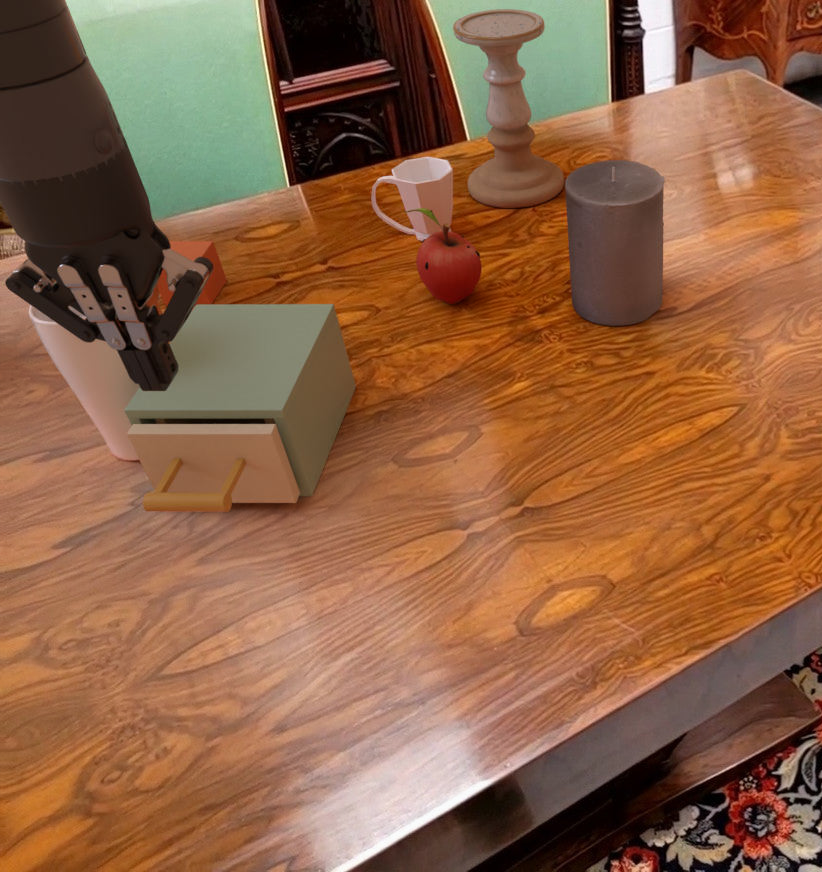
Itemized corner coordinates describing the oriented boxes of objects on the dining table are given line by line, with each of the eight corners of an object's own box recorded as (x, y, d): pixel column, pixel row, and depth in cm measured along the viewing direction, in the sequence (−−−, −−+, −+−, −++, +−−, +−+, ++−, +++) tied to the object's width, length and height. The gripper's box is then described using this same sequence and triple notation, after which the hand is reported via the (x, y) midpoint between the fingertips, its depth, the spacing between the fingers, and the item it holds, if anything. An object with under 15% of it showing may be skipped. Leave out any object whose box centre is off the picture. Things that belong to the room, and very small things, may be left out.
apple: (491, 280, 103) (479, 196, 96) (481, 314, 97) (468, 228, 91) (421, 280, 103) (405, 196, 96) (408, 315, 98) (390, 229, 91)
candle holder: (495, 218, 113) (473, 48, 100) (452, 181, 121) (426, 18, 108) (582, 192, 118) (572, 26, 105) (536, 157, 126) (521, -1, 113)
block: (164, 305, 100) (147, 264, 96) (182, 281, 104) (167, 240, 100) (211, 305, 100) (195, 264, 96) (227, 280, 103) (213, 240, 100)
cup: (457, 248, 108) (446, 183, 103) (371, 247, 108) (357, 183, 103) (467, 219, 113) (458, 155, 108) (386, 218, 114) (373, 155, 108)
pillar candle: (564, 284, 102) (554, 153, 92) (651, 272, 103) (650, 141, 94) (582, 334, 95) (573, 197, 85) (675, 319, 96) (677, 183, 86)
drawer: (276, 551, 72) (247, 481, 67) (133, 550, 72) (94, 481, 67) (339, 398, 86) (320, 331, 81) (220, 398, 86) (193, 331, 81)
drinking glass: (124, 418, 85) (54, 276, 76) (196, 419, 85) (136, 276, 75) (88, 469, 80) (8, 323, 70) (166, 470, 80) (96, 324, 70)
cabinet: (312, 496, 77) (282, 409, 71) (165, 496, 78) (123, 410, 72) (356, 386, 89) (333, 303, 82) (228, 386, 89) (196, 304, 83)
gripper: (191, 119, 57) (270, 352, 68) (-24, 121, 57) (91, 353, 68) (138, 174, 51) (234, 418, 62) (-99, 176, 51) (39, 419, 63)
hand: (159, 384), depth 65 cm, fingers closed
